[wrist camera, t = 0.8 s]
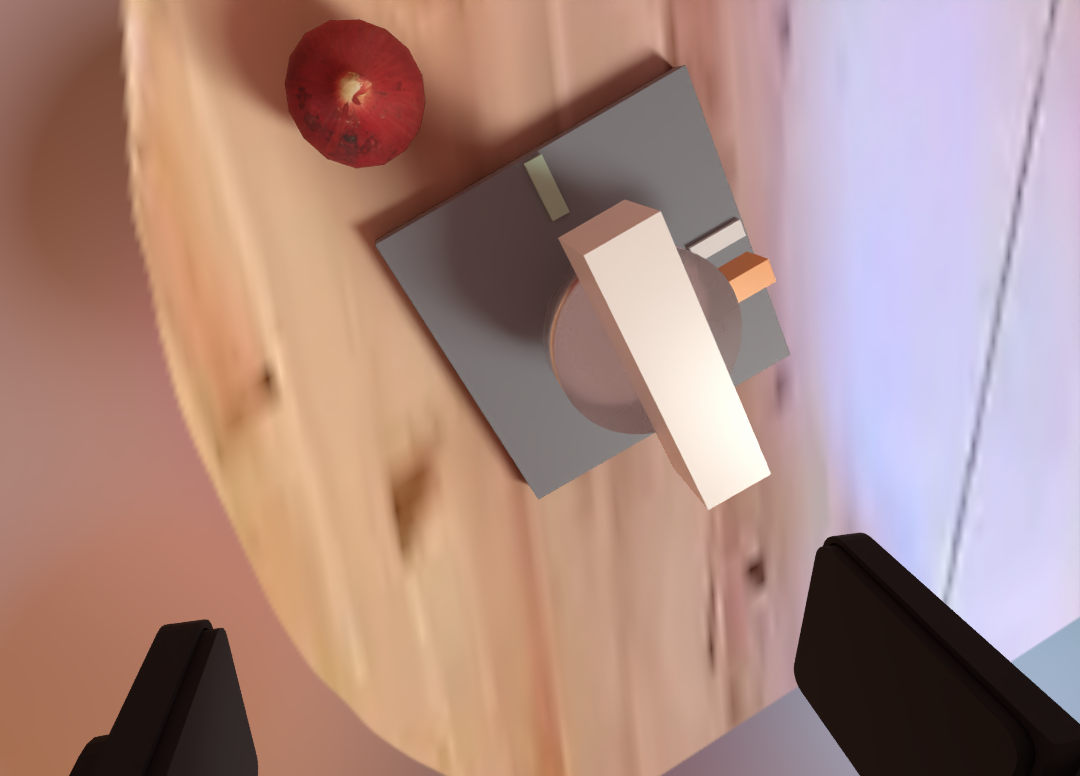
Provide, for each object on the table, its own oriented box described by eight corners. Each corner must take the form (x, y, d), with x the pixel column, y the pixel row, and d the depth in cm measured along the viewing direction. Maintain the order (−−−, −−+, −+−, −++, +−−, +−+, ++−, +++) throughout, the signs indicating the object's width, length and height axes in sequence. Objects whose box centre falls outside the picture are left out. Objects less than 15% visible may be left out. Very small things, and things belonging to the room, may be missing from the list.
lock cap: (700, 136, 30) (784, 139, 23) (784, 364, 35) (870, 416, 29) (488, 259, 30) (513, 295, 23) (605, 466, 35) (651, 542, 29)
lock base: (673, 67, 34) (722, 57, 29) (777, 347, 41) (830, 377, 36) (375, 240, 34) (372, 260, 29) (533, 487, 41) (552, 536, 36)
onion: (405, 178, 33) (408, 192, 26) (287, 141, 31) (255, 146, 24) (434, 57, 31) (446, 37, 24) (311, 11, 30) (284, -26, 22)
